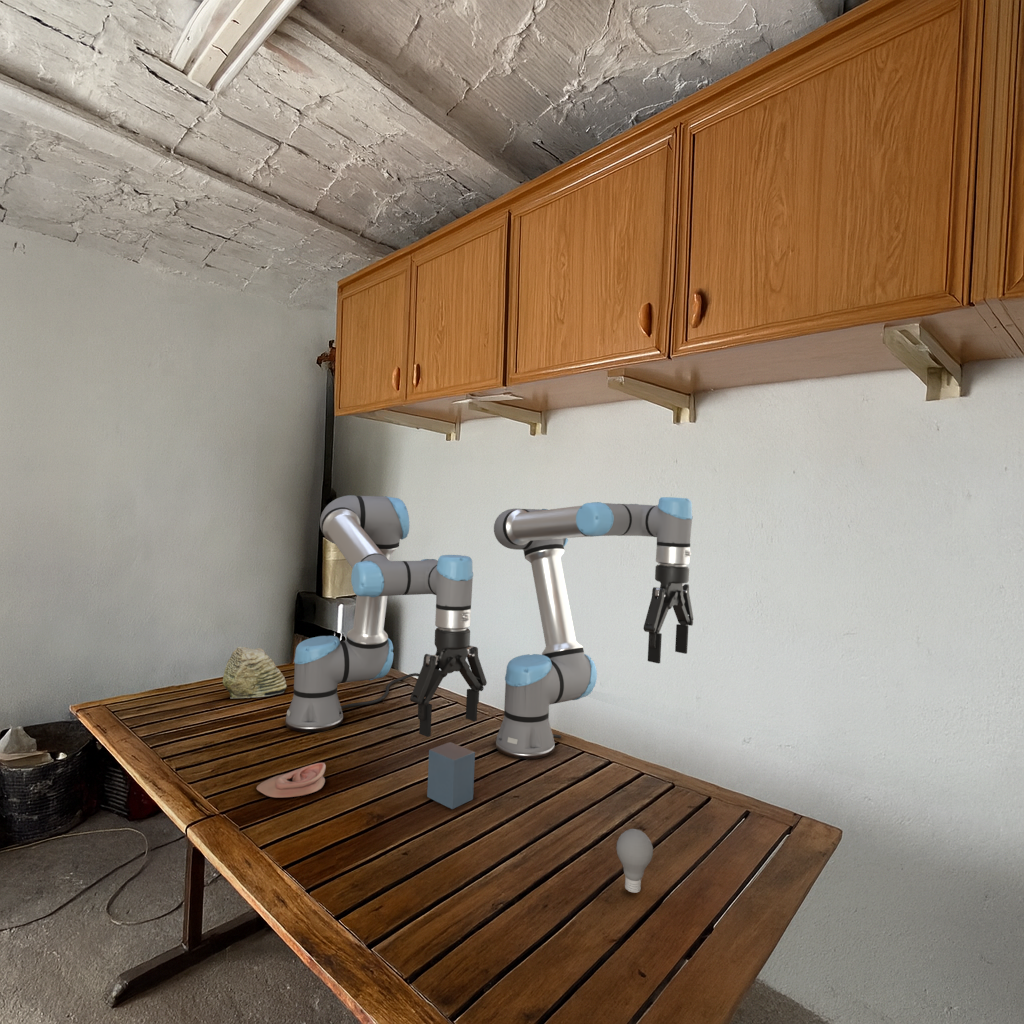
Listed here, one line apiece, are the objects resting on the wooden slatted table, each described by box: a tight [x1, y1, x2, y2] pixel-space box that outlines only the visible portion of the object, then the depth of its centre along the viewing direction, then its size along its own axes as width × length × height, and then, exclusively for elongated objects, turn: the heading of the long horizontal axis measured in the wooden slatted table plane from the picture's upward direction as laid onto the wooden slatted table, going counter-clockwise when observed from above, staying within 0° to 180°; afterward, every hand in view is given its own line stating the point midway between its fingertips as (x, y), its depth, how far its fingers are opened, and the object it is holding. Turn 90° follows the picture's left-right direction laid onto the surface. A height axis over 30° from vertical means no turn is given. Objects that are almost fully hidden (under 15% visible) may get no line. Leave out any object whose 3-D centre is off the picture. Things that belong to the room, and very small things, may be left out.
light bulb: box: [615, 828, 654, 894], centre depth 106 cm, size 6×6×10 cm
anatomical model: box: [256, 762, 327, 799], centre depth 137 cm, size 13×4×12 cm
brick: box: [426, 741, 476, 810], centre depth 136 cm, size 6×8×10 cm
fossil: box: [222, 646, 288, 699], centre depth 198 cm, size 9×18×15 cm, turn 132°
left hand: (448, 727), depth 135 cm, fingers open, 13 cm apart
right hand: (667, 657), depth 145 cm, fingers open, 13 cm apart
